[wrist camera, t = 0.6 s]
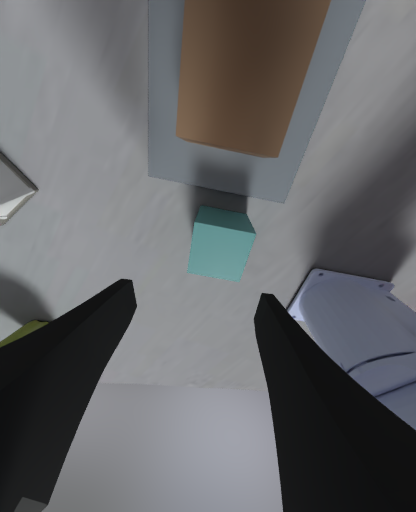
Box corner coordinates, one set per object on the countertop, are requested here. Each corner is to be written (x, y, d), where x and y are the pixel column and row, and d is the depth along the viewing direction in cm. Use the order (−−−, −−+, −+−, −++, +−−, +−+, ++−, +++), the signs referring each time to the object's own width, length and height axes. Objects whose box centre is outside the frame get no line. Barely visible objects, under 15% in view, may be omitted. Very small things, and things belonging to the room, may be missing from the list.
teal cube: (246, 213, 16) (256, 233, 12) (234, 253, 19) (239, 282, 14) (201, 204, 16) (194, 222, 12) (194, 245, 19) (187, 272, 14)
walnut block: (296, 45, 10) (335, -13, 7) (262, 157, 13) (277, 157, 10) (198, 21, 10) (188, -51, 7) (187, 141, 13) (175, 135, 10)
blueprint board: (365, -13, 10) (376, -26, 9) (281, 201, 16) (284, 203, 15) (153, -68, 9) (148, -87, 8) (151, 175, 15) (148, 176, 14)
